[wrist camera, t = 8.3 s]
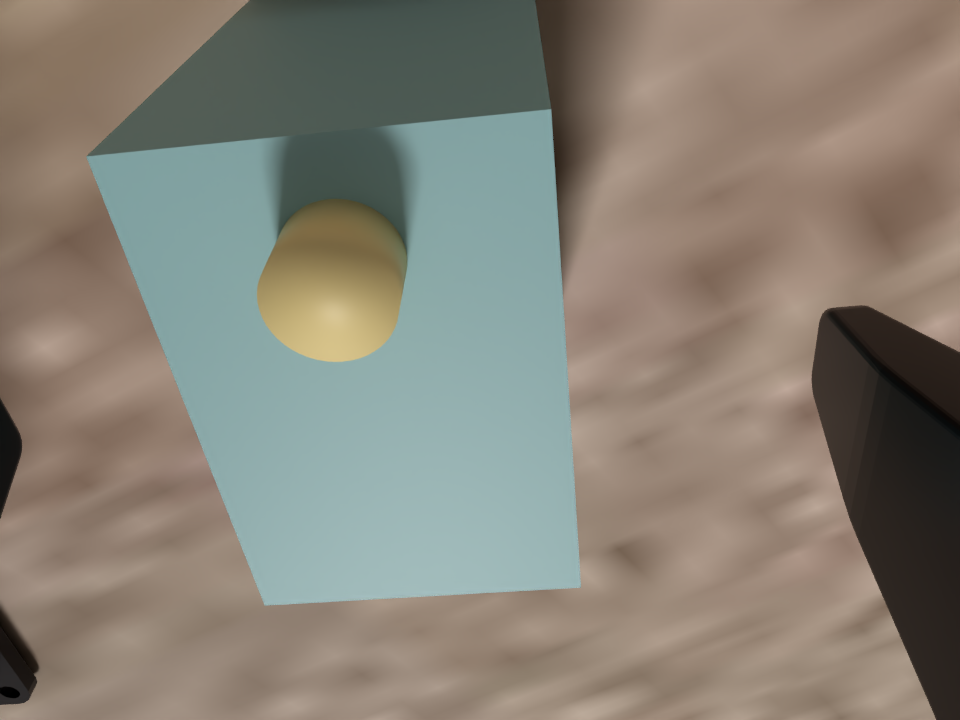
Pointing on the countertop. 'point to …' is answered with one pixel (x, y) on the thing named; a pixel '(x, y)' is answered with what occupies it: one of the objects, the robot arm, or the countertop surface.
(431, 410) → the teal box with knob
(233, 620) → the countertop surface
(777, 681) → the countertop surface
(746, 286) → the countertop surface
